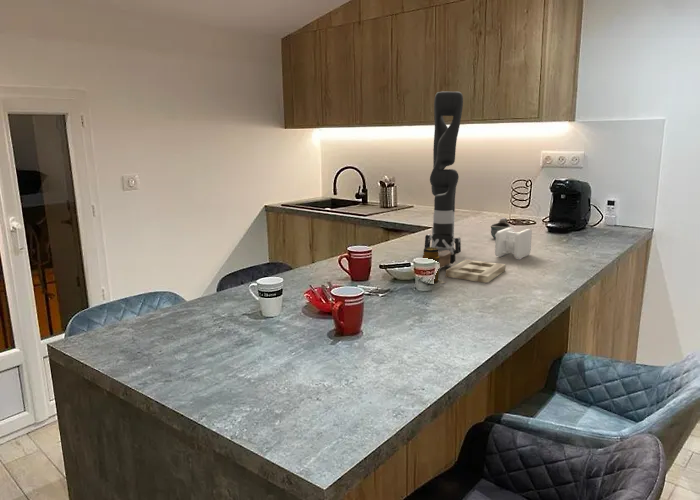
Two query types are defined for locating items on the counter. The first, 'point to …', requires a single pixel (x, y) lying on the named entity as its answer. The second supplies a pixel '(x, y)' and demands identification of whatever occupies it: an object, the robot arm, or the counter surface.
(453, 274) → the keyhole board
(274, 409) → the counter surface
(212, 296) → the counter surface
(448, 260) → the walnut bar
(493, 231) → the mug
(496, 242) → the cable organizer
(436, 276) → the condiment
